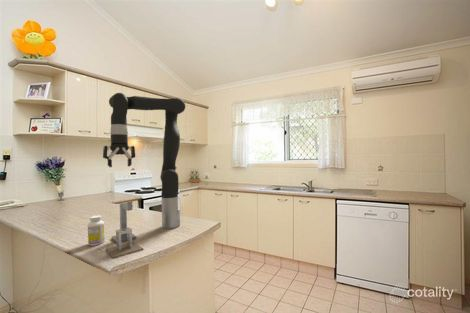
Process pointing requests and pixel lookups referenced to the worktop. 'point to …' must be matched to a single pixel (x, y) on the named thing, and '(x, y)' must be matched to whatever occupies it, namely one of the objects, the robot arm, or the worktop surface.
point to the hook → (118, 237)
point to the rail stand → (124, 220)
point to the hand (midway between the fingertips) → (119, 166)
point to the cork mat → (123, 250)
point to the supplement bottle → (95, 231)
